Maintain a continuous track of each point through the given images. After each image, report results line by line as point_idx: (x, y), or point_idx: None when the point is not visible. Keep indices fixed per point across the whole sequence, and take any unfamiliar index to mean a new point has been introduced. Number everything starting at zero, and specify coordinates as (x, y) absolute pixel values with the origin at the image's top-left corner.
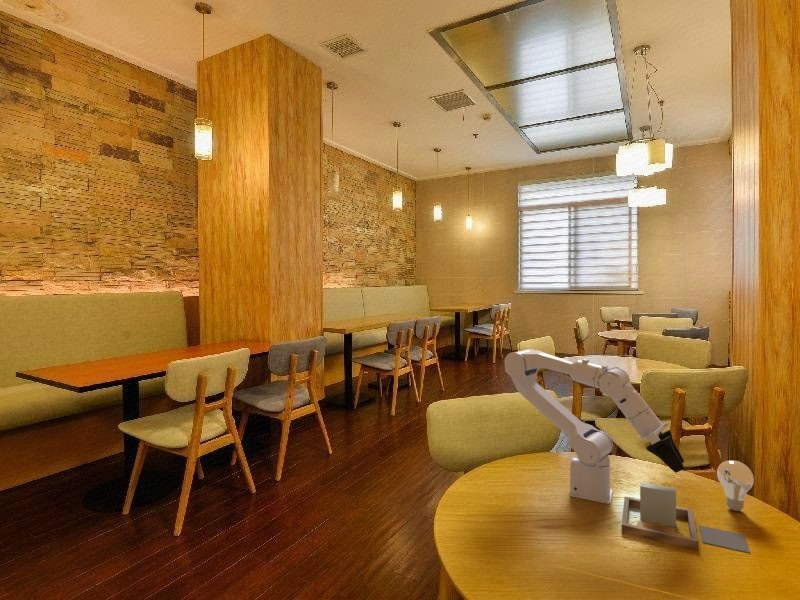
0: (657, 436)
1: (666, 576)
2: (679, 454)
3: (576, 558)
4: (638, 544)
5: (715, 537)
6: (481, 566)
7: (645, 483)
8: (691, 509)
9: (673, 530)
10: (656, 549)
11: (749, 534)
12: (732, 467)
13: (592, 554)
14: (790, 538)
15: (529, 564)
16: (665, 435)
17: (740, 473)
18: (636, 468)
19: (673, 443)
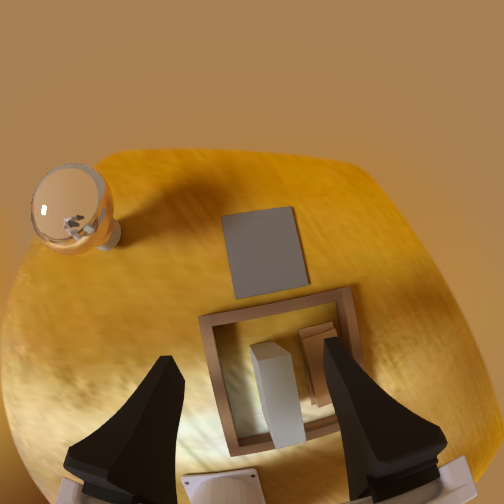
0: (460, 478)
1: (432, 314)
2: (159, 381)
3: (447, 418)
4: (379, 378)
5: (272, 264)
6: (481, 458)
7: (275, 437)
8: (198, 318)
9: (316, 339)
10: (378, 349)
11: (207, 208)
12: (76, 199)
13: (433, 411)
14: (181, 151)
15: (470, 439)
16: (131, 480)
17: (93, 182)
18: (37, 427)
19: (140, 426)
